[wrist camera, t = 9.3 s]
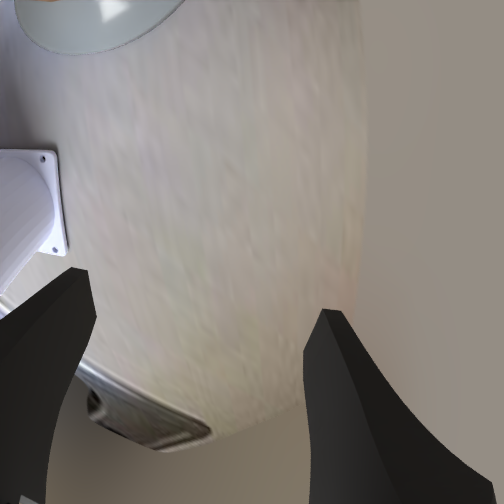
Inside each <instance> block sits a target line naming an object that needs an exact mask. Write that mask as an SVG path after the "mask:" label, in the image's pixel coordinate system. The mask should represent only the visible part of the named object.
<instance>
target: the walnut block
mask: <svg viewBox="0 0 504 504" xmlns="http://www.w3.org/2000/svg"><path fill="white" fill-rule="evenodd" d="M35 1H45V2H54V1H59V0H35Z"/></svg>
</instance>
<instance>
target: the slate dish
mask: <svg viewBox="0 0 504 504" xmlns="http://www.w3.org/2000/svg"><path fill="white" fill-rule="evenodd" d="M183 2H184V0H59V1H54V2H45V1H35V0H14V4H15V11H16V15H17V19H18V21H19V23H20V26H21V28H22V29H23V31H24V32H25V34H26V35H27V36H28V37H29V38H30V39H31V40H32V41H33V42H34V43H35V44H37V45H38V46H39V47H42V48H44V49H46V50H48V51H51V52H54V53H57V54H65V55H83V54H92V53H100V52H104V51H108V50H112V49H115V48H118V47H120V46H123V45H126V44H128V43H130V42H132V41H134V40H136V39H138V38H140V37H141V36H143V35H145V34H146V33H148V32H150V31H151V30H152V29H154V28H155V27H157V26H158V25H159V24H161V23H162V22H163V21H164V20H165V19H167V18H168V17H169V16H170V15H171V14H172V13H173V12H174V11H175V10H176V9H177V8H178V7H179V6H180V5H181V4H182V3H183Z"/></svg>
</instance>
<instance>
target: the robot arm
mask: <svg viewBox="0 0 504 504" xmlns="http://www.w3.org/2000/svg"><path fill="white" fill-rule="evenodd" d="M43 156H44V157H45V159H46V160H44V159H43ZM55 247H56V248H57V249H56V248H55ZM36 251H39V252H43V253H48V254H53V255H58V256H65V255H66V254H67V252H68V247H67V241H66V235H65V228H64V222H63V214H62V206H61V198H60V188H59V177H58V164H57V155H56V153H55V152H54V151H52V150H27V149H0V297H1V295H2V294H3V293H4V291H5V290H6V289H7V287H8V286H9V285H10V283H11V282H12V281H13V280H14V278H15V277H16V276H17V274H18V273H19V272H20V271H21V270H22V268H23V267H24V266H25V265H26V263H27V262H28V261H29V260H30V259H31V257H32V256H33V255H34V254H35V253H36ZM96 318H97V316H96V311H95V306H94V302H93V297H92V292H91V287H90V281H89V276H88V270H83V269H78V268H73V267H71V268H69V269H68V270H66V271H65V272H63V273H62V274H61V275H59V276H58V277H57V278H55V279H54V280H53V281H51V282H50V283H49V284H47V285H46V286H45V287H43V288H42V289H41V290H39V291H38V292H37V293H36V294H34V295H33V296H32V297H30V298H29V299H28V300H26V301H25V302H24V303H23V304H21V305H20V306H19V307H17V308H16V309H14V310H13V311H12V312H10V313H9V314H8V315H6V316H5V317H4V318H2V319H1V320H0V504H19V502H20V503H22V504H45V495H46V478H47V469H48V462H49V455H50V449H51V443H52V439H53V434H54V430H55V426H56V422H57V418H58V414H59V411H60V407H61V405H62V402H63V399H64V396H65V394H66V392H67V389H68V387H69V385H70V383H71V380H72V378H73V376H74V374H75V371H76V369H77V367H78V365H79V362H80V360H81V358H82V356H83V354H84V351H85V349H86V347H87V345H88V342H89V339H90V336H91V333H92V330H93V327H94V324H95V321H96ZM303 382H304V391H305V399H306V407H307V415H308V425H309V433H310V444H311V478H310V496H309V504H497V503H496V498H495V493H494V489H493V485H492V482H490V481H489V480H487V479H486V478H485V477H483V476H482V475H480V474H479V473H477V472H476V471H474V470H473V469H472V468H470V467H468V466H467V465H466V464H465V463H464V462H462V461H461V460H460V459H459V458H458V457H456V456H455V455H454V454H452V453H451V452H450V451H449V450H448V449H447V448H446V447H445V446H444V445H443V444H442V443H440V442H439V441H438V440H437V439H436V438H435V437H434V436H433V435H432V434H431V433H430V432H429V431H428V430H427V429H426V428H425V427H424V426H423V424H422V423H421V422H420V421H419V420H418V419H417V418H416V417H415V415H414V414H413V413H412V412H411V411H410V410H409V409H408V407H407V406H406V405H405V404H404V403H403V401H402V400H401V399H400V398H399V396H398V395H397V394H396V392H395V391H394V390H393V388H392V387H391V386H390V384H389V383H388V381H387V380H386V379H385V377H384V376H383V374H382V373H381V372H380V370H379V369H378V367H377V366H376V364H375V363H374V361H373V360H372V358H371V357H370V355H369V354H368V352H367V351H366V349H365V348H364V346H363V345H362V343H361V341H360V340H359V338H358V337H357V335H356V333H355V332H354V330H353V329H352V327H351V326H350V324H349V322H348V321H347V319H346V318H345V316H344V315H343V313H342V312H341V311H338V310H330V309H322V311H321V313H320V315H319V317H318V320H317V322H316V324H315V327H314V329H313V331H312V333H311V336H310V338H309V340H308V342H307V344H306V346H305V349H304V351H303Z"/></svg>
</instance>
